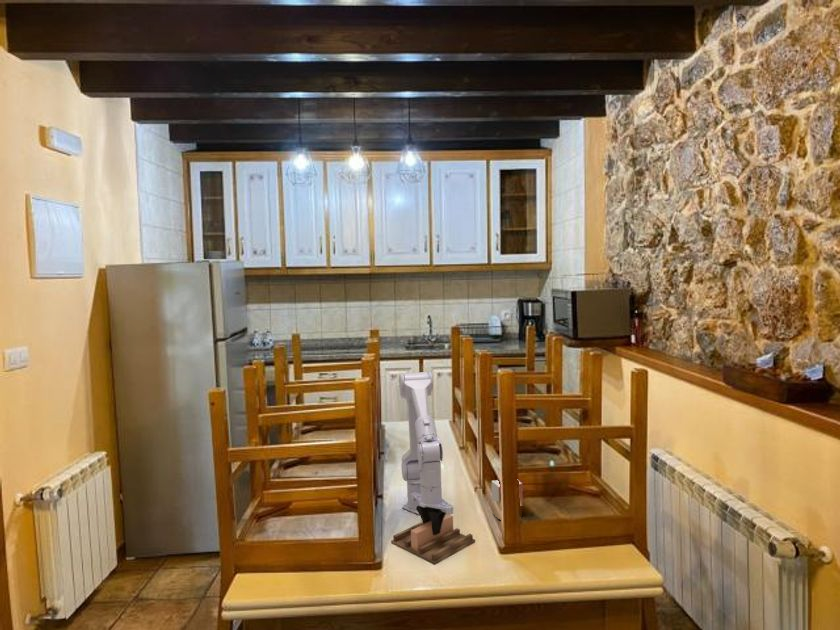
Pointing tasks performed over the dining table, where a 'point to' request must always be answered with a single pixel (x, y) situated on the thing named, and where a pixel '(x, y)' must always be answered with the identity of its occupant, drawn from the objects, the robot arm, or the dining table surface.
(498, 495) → the small box
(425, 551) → the rack
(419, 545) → the clay block
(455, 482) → the dining table surface
